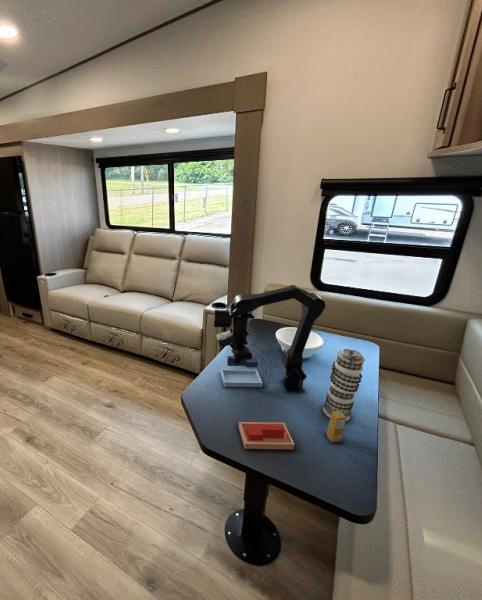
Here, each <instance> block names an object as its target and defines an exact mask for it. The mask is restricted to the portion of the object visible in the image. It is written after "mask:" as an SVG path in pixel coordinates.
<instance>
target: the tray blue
mask: <svg viewBox="0 0 482 600" xmlns="http://www.w3.org/2000/svg"><path fill="white" fill-rule="evenodd" d="M220 378H221V380H222V383H223V387H224V388H262V387H263V381H262V378H261V375H260V374H259V372H258V369H227V368H226V369H225V368H223V369H220Z"/></svg>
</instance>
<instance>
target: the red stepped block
mask: <svg viewBox="0 0 482 600" xmlns="http://www.w3.org/2000/svg"><path fill="white" fill-rule="evenodd" d="M246 433H247V436H248V439H249V441H263V438H281V439H284V434H285V428H284V426H262V427H260V426H247V429H246Z"/></svg>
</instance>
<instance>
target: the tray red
mask: <svg viewBox="0 0 482 600" xmlns="http://www.w3.org/2000/svg"><path fill="white" fill-rule="evenodd" d="M247 426H260V427H262V426H284V428H285V434H284V439H281V438H263V441H249V439H248V436H247V433H246V429H247ZM238 430H239V433H240V437H241V440H242V444H243V447H244V449H245V450H252V449H253V450H295V442H294V440H293V438H292V435H291V434H290V432H289V429H288V428H287V426H286V423H285V422H260V421H259V422H258V421H257V422H255V421H251V422H250V421H249V422H247V421H239V422H238Z"/></svg>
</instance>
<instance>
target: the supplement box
mask: <svg viewBox="0 0 482 600" xmlns="http://www.w3.org/2000/svg"><path fill="white" fill-rule="evenodd" d="M329 418H330V417H329ZM346 422H347V421H346V416H344V415H343V413H342V412H341V411H334V412H332V414H331V418H330V419H329V423H328V427H327V432H326V437H327V438H328V439H329V441H330V443H340V442H342V437H343V433H344V429H345V425H346Z"/></svg>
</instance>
